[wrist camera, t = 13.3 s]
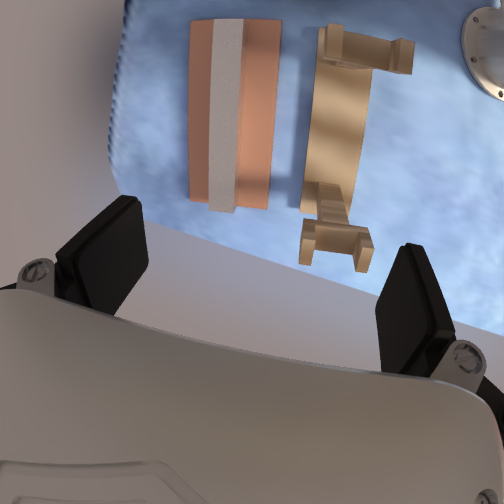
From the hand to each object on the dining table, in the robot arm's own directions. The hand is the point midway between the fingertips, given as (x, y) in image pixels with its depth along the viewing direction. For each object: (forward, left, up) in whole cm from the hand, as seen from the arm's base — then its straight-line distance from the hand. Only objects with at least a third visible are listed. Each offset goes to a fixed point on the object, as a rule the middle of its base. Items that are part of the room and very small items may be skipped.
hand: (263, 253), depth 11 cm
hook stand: (-1, +5, -26) cm, 27 cm away
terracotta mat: (-1, -7, -26) cm, 27 cm away
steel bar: (-1, -7, -26) cm, 27 cm away
